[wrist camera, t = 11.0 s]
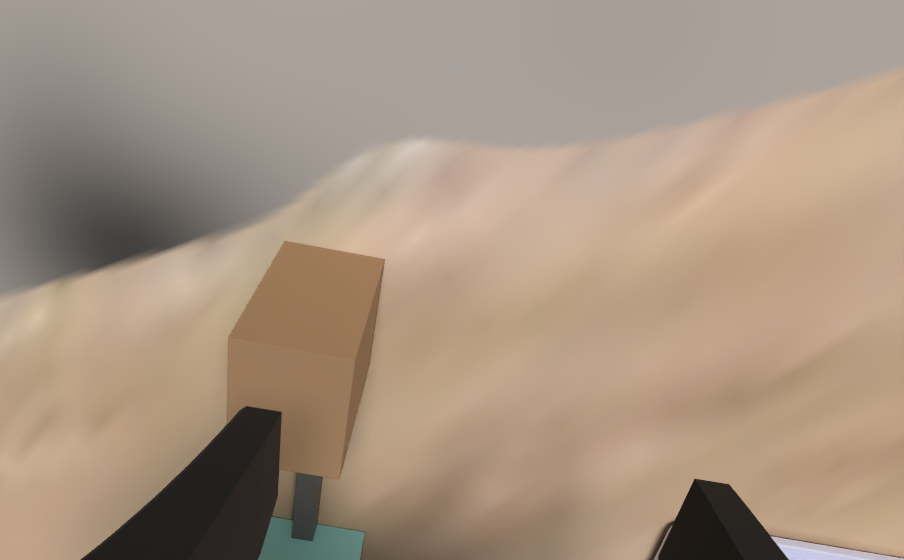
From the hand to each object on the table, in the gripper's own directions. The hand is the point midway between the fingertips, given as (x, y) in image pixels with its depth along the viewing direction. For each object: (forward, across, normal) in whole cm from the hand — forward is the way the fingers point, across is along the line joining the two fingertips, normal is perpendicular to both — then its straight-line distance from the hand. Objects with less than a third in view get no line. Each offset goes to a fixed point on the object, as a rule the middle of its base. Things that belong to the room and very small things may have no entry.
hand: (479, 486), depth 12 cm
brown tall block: (+9, +5, +10) cm, 14 cm away
